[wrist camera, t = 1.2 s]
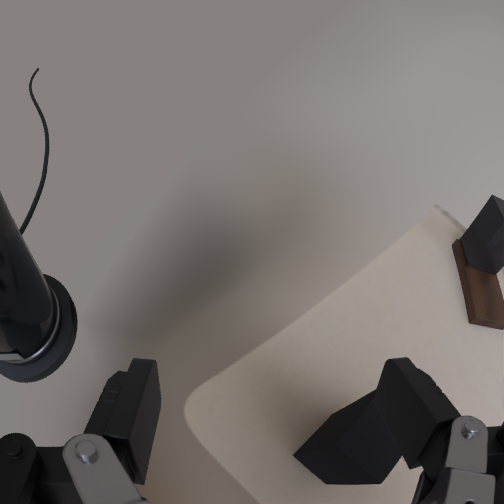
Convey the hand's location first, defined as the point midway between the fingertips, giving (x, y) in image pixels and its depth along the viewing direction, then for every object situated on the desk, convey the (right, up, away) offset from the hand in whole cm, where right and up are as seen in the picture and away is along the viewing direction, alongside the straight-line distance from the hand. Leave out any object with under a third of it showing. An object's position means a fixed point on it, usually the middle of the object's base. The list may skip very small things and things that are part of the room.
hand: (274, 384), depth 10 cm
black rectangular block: (+6, -12, +12) cm, 18 cm away
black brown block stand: (+30, 0, +26) cm, 40 cm away
